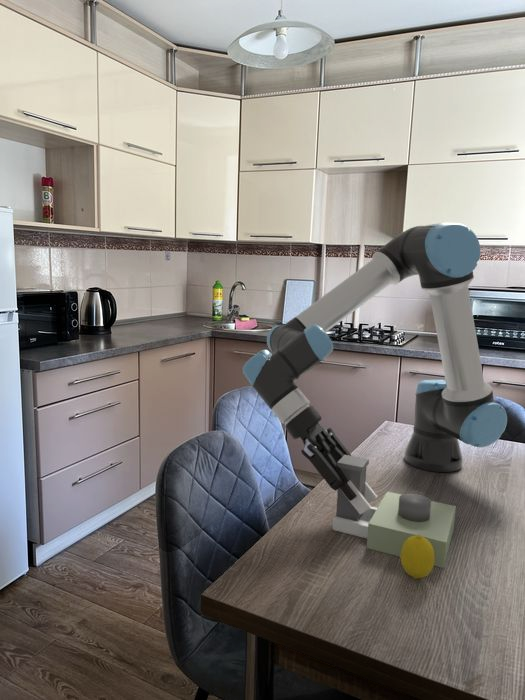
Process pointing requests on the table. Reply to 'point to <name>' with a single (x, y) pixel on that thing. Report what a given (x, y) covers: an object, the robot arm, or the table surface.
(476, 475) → the table surface
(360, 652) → the table surface
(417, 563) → the lemon
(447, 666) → the table surface
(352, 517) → the gray capped pillar
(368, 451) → the table surface
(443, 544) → the green block with knob
